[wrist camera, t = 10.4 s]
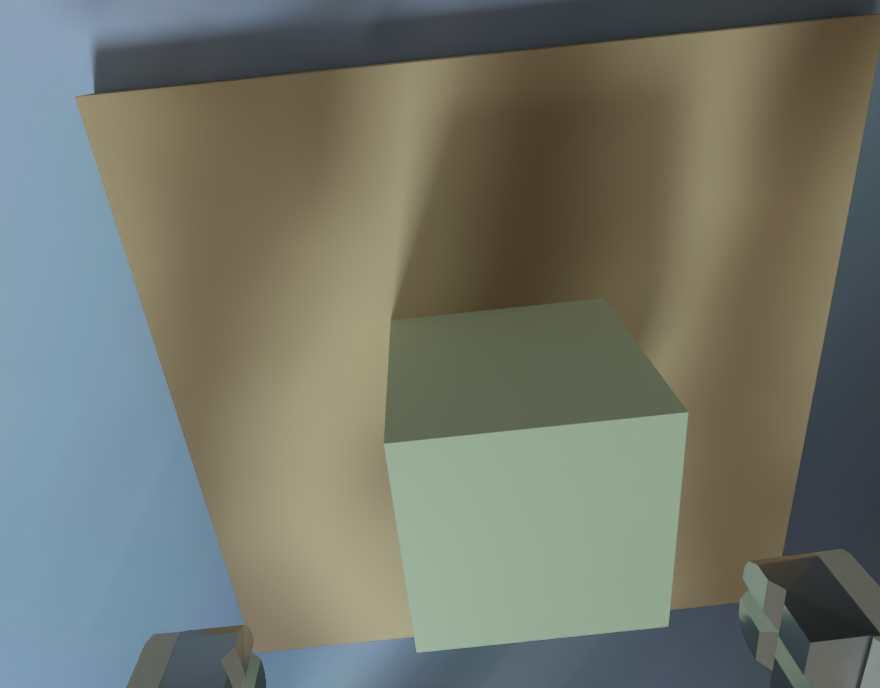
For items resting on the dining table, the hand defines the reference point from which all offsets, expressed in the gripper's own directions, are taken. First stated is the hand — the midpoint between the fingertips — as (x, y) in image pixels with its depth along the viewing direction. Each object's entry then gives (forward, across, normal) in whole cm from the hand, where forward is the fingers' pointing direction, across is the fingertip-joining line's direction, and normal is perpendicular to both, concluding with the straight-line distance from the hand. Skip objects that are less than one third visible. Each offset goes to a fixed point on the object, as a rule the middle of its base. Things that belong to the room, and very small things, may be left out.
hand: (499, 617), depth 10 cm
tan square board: (+7, -1, 0) cm, 7 cm away
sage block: (+6, -1, 0) cm, 6 cm away
